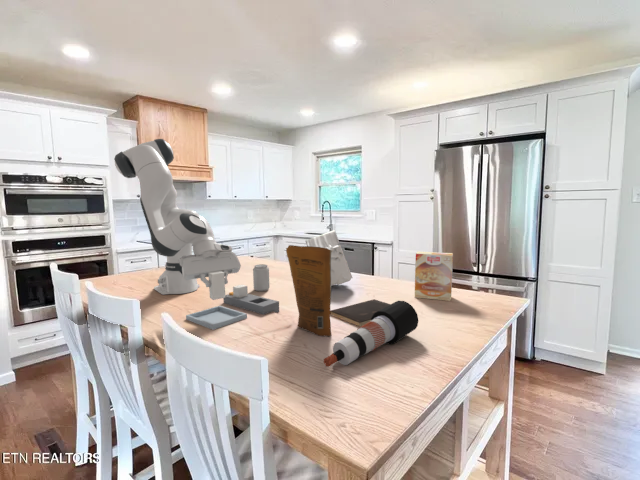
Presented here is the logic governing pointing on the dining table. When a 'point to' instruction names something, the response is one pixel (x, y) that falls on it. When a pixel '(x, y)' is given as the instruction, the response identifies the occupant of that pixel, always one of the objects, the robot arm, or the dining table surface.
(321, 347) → the dining table surface
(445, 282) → the coffeecake box
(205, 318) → the tray
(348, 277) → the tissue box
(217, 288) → the grey rectangular block
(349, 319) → the hardcover book
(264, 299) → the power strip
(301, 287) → the pancake mix bag
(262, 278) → the can
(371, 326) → the cable
